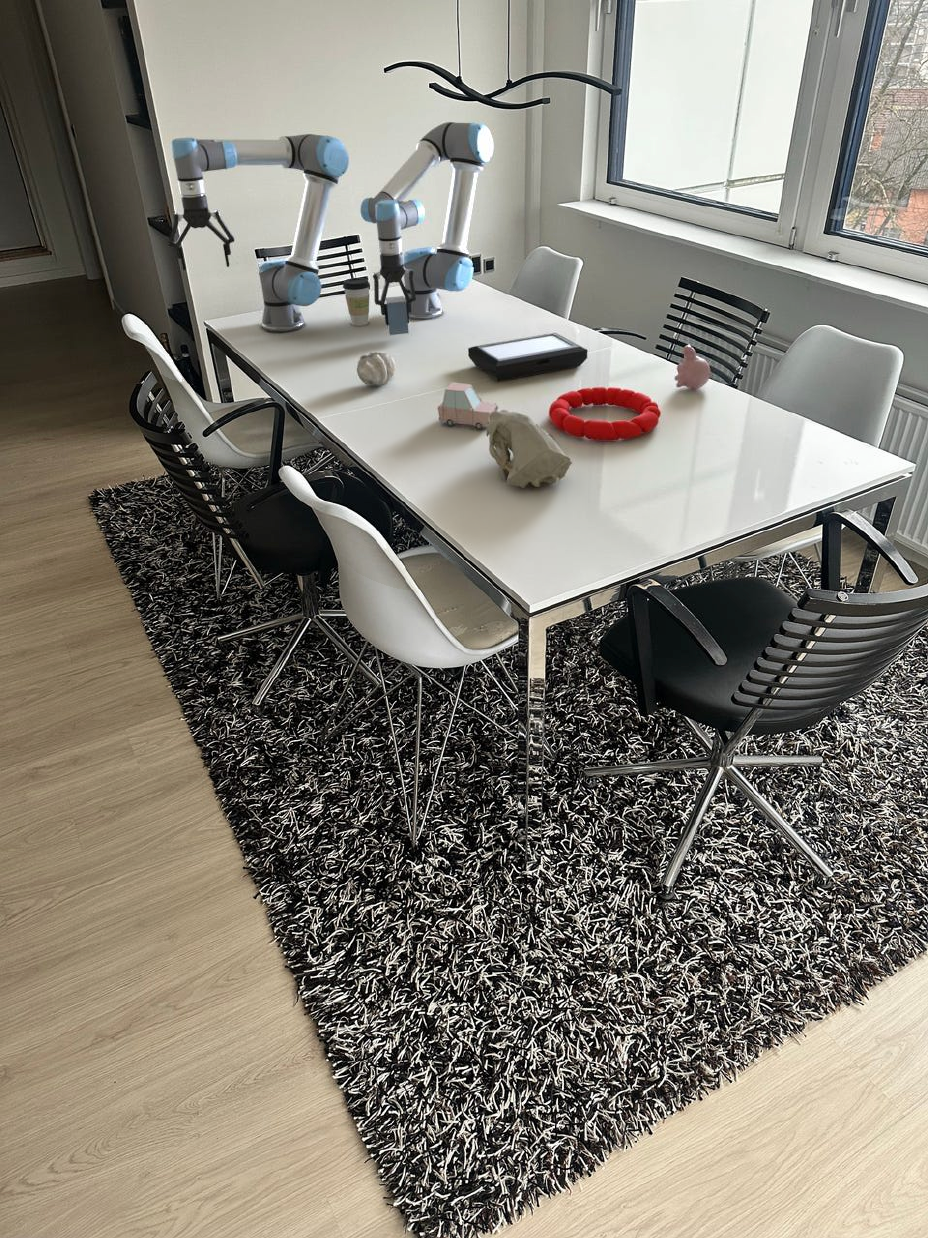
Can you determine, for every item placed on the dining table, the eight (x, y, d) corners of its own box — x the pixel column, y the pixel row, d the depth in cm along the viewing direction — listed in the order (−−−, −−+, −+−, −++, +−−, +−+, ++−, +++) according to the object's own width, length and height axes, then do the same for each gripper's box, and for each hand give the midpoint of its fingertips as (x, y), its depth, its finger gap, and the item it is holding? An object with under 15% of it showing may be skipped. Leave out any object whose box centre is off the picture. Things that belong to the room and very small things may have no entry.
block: (387, 329, 309) (384, 297, 302) (406, 327, 310) (403, 295, 303) (389, 335, 304) (386, 303, 297) (408, 333, 304) (405, 301, 298)
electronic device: (495, 363, 267) (468, 345, 282) (495, 383, 270) (468, 364, 285) (587, 347, 277) (556, 330, 292) (586, 366, 281) (555, 349, 296)
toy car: (488, 432, 240) (488, 396, 234) (436, 426, 244) (434, 390, 239) (499, 419, 247) (499, 384, 241) (448, 413, 252) (447, 379, 246)
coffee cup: (372, 326, 323) (368, 283, 314) (345, 327, 323) (340, 284, 315) (374, 318, 331) (371, 276, 322) (348, 319, 331) (344, 277, 323)
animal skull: (496, 517, 219) (521, 479, 201) (463, 429, 225) (484, 384, 207) (557, 503, 225) (586, 465, 206) (523, 417, 231) (549, 373, 212)
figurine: (665, 387, 264) (669, 347, 257) (693, 380, 268) (698, 340, 261) (686, 396, 257) (690, 355, 250) (714, 388, 262) (720, 348, 255)
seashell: (349, 384, 274) (346, 352, 268) (393, 375, 279) (391, 343, 274) (362, 394, 266) (359, 361, 260) (407, 384, 272) (405, 352, 266)
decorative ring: (589, 435, 224) (684, 402, 234) (527, 398, 247) (617, 369, 256) (589, 461, 229) (683, 427, 238) (529, 422, 251) (617, 393, 260)
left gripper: (150, 199, 269) (165, 272, 281) (234, 194, 272) (245, 267, 284) (152, 195, 275) (167, 267, 287) (234, 190, 278) (246, 261, 290)
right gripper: (362, 258, 287) (370, 329, 301) (421, 252, 290) (426, 323, 303) (360, 252, 293) (368, 322, 307) (418, 247, 296) (423, 316, 309)
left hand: (206, 267), depth 285 cm, fingers open, 13 cm apart
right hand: (397, 323), depth 305 cm, fingers closed on block, 6 cm apart
